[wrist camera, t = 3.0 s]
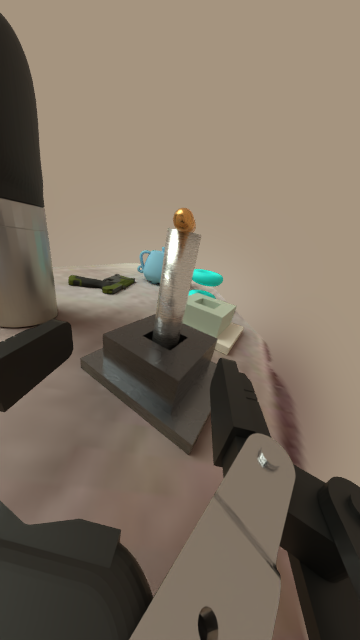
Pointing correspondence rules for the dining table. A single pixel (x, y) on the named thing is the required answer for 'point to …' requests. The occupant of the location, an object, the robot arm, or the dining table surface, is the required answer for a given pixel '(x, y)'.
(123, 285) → the gun
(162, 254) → the decorative pot
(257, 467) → the robot arm
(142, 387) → the block
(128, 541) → the dining table surface
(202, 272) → the donuts
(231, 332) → the pale green socket base
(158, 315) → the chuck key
